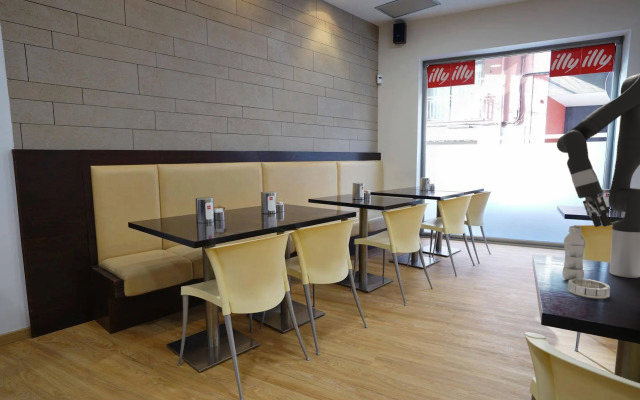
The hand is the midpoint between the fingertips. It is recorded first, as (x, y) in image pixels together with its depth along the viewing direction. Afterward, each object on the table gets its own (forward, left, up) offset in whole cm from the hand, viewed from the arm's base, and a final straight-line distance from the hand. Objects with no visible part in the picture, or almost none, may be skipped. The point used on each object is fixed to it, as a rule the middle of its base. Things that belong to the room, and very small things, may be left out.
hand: (602, 226), depth 135 cm
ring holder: (+17, +4, -20) cm, 27 cm away
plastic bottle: (+8, -5, -20) cm, 22 cm away
